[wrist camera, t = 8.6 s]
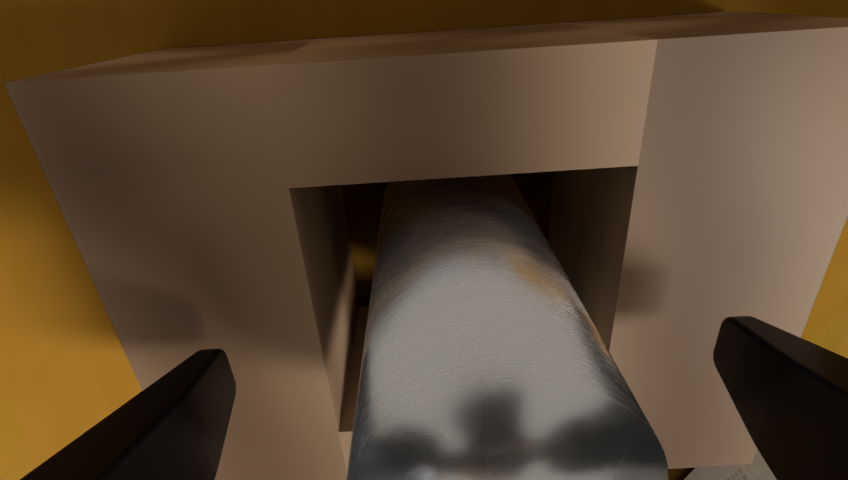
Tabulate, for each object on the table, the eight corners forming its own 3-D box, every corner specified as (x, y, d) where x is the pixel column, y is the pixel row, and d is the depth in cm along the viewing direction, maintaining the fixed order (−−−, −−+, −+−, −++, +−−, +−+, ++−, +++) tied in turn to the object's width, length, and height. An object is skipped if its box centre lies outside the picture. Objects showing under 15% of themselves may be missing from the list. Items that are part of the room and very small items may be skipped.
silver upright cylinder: (516, 265, 15) (642, 582, 7) (389, 273, 15) (364, 599, 7) (520, 139, 13) (698, 371, 5) (375, 149, 13) (319, 395, 5)
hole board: (727, 11, 12) (922, 22, 7) (658, 335, 16) (751, 463, 12) (158, 49, 12) (4, 82, 7) (250, 360, 16) (190, 497, 12)
